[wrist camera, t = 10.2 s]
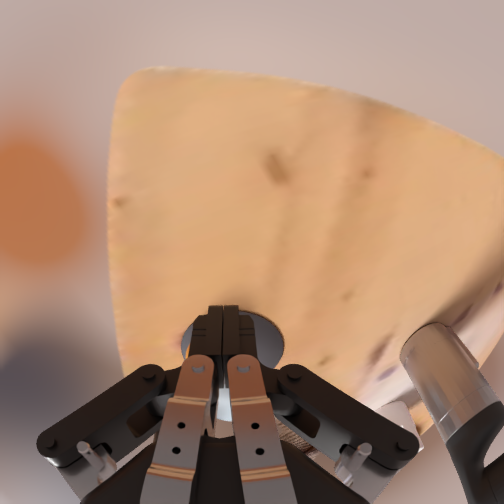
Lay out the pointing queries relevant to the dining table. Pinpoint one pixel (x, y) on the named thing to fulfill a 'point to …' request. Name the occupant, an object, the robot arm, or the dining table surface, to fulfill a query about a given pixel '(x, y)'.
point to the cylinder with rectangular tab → (399, 417)
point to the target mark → (266, 341)
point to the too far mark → (224, 405)
